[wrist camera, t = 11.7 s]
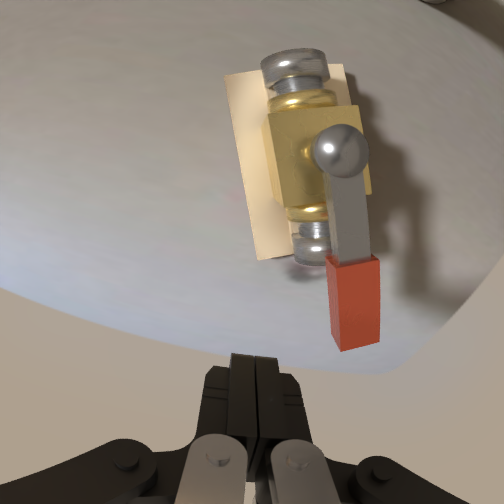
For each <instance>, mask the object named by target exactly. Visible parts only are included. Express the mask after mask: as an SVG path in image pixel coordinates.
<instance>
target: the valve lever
mask: <svg viewBox="0 0 504 504" xmlns="http://www.w3.org/2000/svg"><path fill="white" fill-rule="evenodd" d="M310 156H311V160H312V162H313V164H314V166H315V167H316V168H317V169H318V170H319V171H320V172H321V173H322V176H323V182H324V190H325V197H326V204H327V212H328V221H329V229H330V238H331V248H332V255H331V256H326V257H325V262H326V273H327V283H328V295H329V308H330V322H331V334H332V336H333V338H334V340H335V342H336V344H337V346H338V348H339V350H340V352H342V351H346V350H350V349H354V348H358V347H362V346H366V345H370V344H373V343H377V342H379V339H380V261H379V259H378V258H376V257H375V256H373V255H372V254H371V251H370V236H369V223H368V212H367V201H366V192H365V184H364V176H363V170H364V168H365V167H366V165H367V163H368V160H369V146H368V142H367V140H366V138H365V137H364V135H363V134H362V133H361V132H360V131H359V130H358V129H357V128H355V127H353V126H351V125H348V124H336V125H333V126H330V127H328V128H326V129H324V130H321V131H320V132H319V133H317V134H316V135H315V137H314V138H313V140H312V142H311V145H310Z"/></svg>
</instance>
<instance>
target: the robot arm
mask: <svg viewBox="0 0 504 504" xmlns="http://www.w3.org/2000/svg"><path fill="white" fill-rule="evenodd" d="M422 1H425V2H429V3H434V4H439V3H443V2H445V1H446V0H422ZM245 482H255V487H256V488H255V490H256V493H255V496H254V498H253V504H469V503H467V502H466V501H463V500H461V499H460V498H458V497H456V496H454V495H452V494H450V493H448V492H446V491H444V490H443V489H441V488H439V487H437V486H435V485H434V484H432V483H430V482H428V481H427V480H425V479H423V478H421V477H420V476H418V475H416V474H415V473H413V472H411V471H410V470H408V469H406V468H405V467H403V466H401V465H400V464H398V463H396V462H395V461H393V460H391V459H389V458H387V457H383V456H372V457H368V458H366V459H364V460H362V461H361V462H360V463H359V464H358V465H352V464H347V463H342V462H337V461H333V460H331V459H328V458H326V457H325V456H324V454H323V453H322V451H321V450H320V449H319V448H318V447H316V446H315V445H314V444H313V442H312V438H311V434H310V429H309V425H308V420H307V416H306V412H305V407H304V403H303V398H302V394H301V390H300V386H299V384H298V382H297V381H296V380H295V378H294V377H293V376H292V375H291V374H286V373H279V366H278V360H277V358H271V357H262V356H252V355H243V354H235V353H231V359H230V365H229V368H227V367H220V366H213V367H212V368H211V369H210V371H209V372H208V373H207V374H206V376H205V382H204V388H203V394H202V400H201V406H200V412H199V419H198V424H197V430H196V435H195V437H194V439H193V440H192V442H191V443H190V444H188V445H187V446H185V447H184V448H181V449H179V450H175V451H166V452H152V451H151V450H150V448H148V447H147V446H146V445H144V444H143V443H141V442H138V441H136V440H132V439H116V440H113V441H110V442H108V443H106V444H104V445H101V446H99V447H97V448H95V449H93V450H90V451H88V452H86V453H84V454H81V455H79V456H77V457H74V458H72V459H70V460H68V461H65V462H63V463H60V464H57V465H55V466H52V467H50V468H47V469H45V470H42V471H40V472H37V473H34V474H31V475H29V476H26V477H23V478H20V479H17V480H14V481H11V482H8V483H5V484H1V485H0V504H243V502H244V493H245Z"/></svg>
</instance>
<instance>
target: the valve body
mask: <svg viewBox="0 0 504 504" xmlns="http://www.w3.org/2000/svg"><path fill="white" fill-rule="evenodd" d="M260 65H261V70H262V74H263V79H264V84H265V88H267V89H269V88H274V93H275V97H273V98H271V99H269V100H268V101H267V107H268V112H269V114H267V115H266V117H265V120H264V122H263V124H262V126H261V132H262V137H263V142H264V148H265V153H266V159H267V165H268V170H269V176H270V182H271V187H272V193H273V198H274V199H275V200H276V201H277V202H278V203H279V204H280V205H281V206H282V207H284V208H285V209H286V215H287V220H288V221H290V222H296V223H297V225H298V233H294V232H293V233H292V234H291V238H292V244H293V251H294V258H295V261H296V262H298V263H300V264H303V265H309V266H325V265H326V262H325V257H326V256H331V255H332V248H331V238H330V229H329V221H328V212H327V204H326V197H325V190H324V182H323V176H322V173H321V172H320V171H319V170H318V169H317V168H316V167H315V166H314V164H313V162H312V160H311V156H310V145H311V142H312V140H313V138H314V137H315V135H316V134H317V133H319V132H320V131H321V130H324V129H326V128H328V127H330V126H333V125H336V124H348V125H351V126H353V127H355V128H357V129H358V130H359V131H360V132H361V133H362V134H363V129H362V123H361V118H360V113H359V107H358V105H348V106H338V101H337V97H336V92H335V91H332V90H327V89H325V86H324V83H325V82H327V81H328V80H329V79H330V78H331V77H330V73H329V68H328V64H327V60H326V56H325V54H324V53H323V52H322V51H320V50H316V49H308V48H301V49H291V50H285V51H281V52H278V53H275V54H272V55H270V56H268V57H266V58H265V59H263V60H262V61H261V63H260ZM363 135H364V134H363ZM363 176H364V184H365V192H366V195H369V194H372V190H371V182H370V174H369V167H368V163H367V165H366V167H365V168H364V170H363Z"/></svg>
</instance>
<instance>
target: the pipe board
mask: <svg viewBox="0 0 504 504" xmlns="http://www.w3.org/2000/svg"><path fill="white" fill-rule="evenodd" d="M328 68H329V73H330V77H331V78H330V79H329V80H328V81H327V82H325V83H324V86H325V89H327V90H332V91H335V92H336V97H337V101H338V106H348V105H352V104H351V100H350V95H349V90H348V86H347V81H346V77H345V73H344V69H343V65H342V64H328ZM224 80H225V85H226V91H227V96H228V102H229V107H230V112H231V118H232V123H233V128H234V134H235V139H236V145H237V150H238V155H239V161H240V166H241V172H242V177H243V182H244V188H245V193H246V199H247V204H248V210H249V215H250V221H251V226H252V232H253V237H254V243H255V248H256V254H257V259H258V260H263V259H268V258H274V257H279V256H285V255H290V254H294V251H293V244H292V238H291V234H292V233H293V232H294V233H298V225H297V223H296V222H290V221H288V220H287V215H286V209H285V208H284V207H282V206H281V205H280V204H279V203H278V202H277V201H276V200H275V199H274V198H273V193H272V187H271V182H270V176H269V170H268V165H267V159H266V153H265V148H264V142H263V137H262V132H261V126H262V124H263V122H264V120H265V117H266V115H267V114H269V112H268V107H267V101H268V100H269V99H271V98H273V97H275V93H274V88H269V89H267V88H265V84H264V79H263V74H262V70H257V71H250V72H244V73H237V74H231V75H226V76H224ZM367 212H368V211H367ZM368 223H369V221H368ZM369 236H370V233H369Z"/></svg>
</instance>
